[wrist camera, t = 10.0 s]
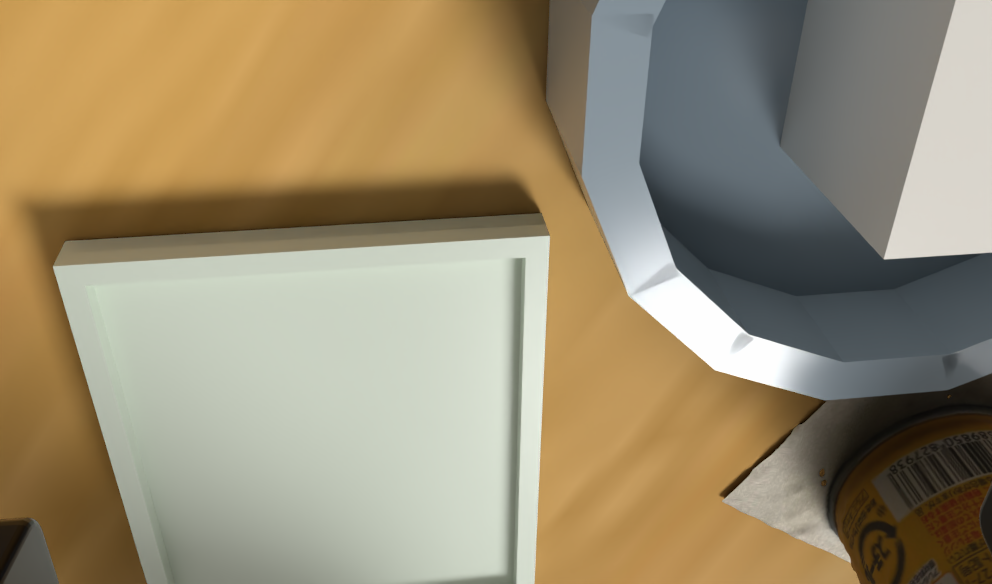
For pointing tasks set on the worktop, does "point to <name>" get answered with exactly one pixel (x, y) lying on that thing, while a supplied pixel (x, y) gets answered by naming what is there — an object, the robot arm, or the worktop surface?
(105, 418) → the tray
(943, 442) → the condiment
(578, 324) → the worktop surface
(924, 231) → the white matte cube
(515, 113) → the worktop surface
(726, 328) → the bowl
